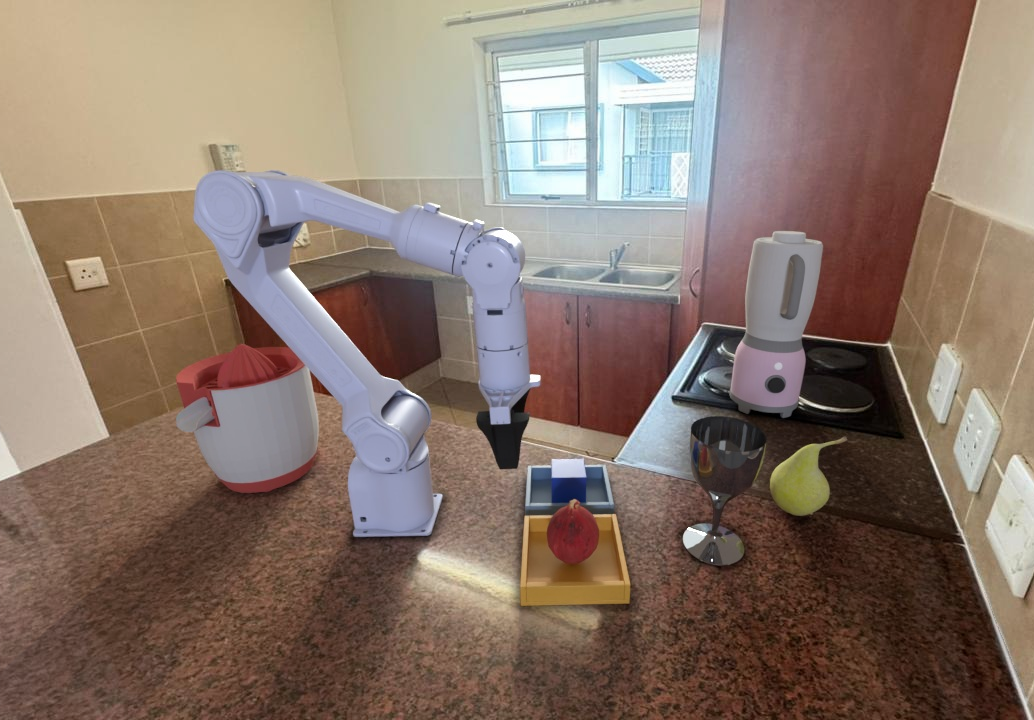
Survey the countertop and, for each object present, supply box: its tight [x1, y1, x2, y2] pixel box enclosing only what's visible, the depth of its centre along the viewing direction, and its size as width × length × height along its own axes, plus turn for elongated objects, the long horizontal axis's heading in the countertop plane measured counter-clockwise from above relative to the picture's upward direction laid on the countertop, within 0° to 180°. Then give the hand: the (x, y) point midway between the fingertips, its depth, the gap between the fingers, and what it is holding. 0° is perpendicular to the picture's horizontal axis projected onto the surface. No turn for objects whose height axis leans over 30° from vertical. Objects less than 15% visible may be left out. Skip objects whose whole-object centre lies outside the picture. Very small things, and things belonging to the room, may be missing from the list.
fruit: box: [769, 436, 848, 517], centre depth 64 cm, size 7×8×12 cm
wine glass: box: [682, 415, 768, 566], centre depth 57 cm, size 8×8×15 cm
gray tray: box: [524, 464, 615, 516], centre depth 67 cm, size 11×9×2 cm
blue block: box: [550, 458, 587, 503], centre depth 67 cm, size 4×4×4 cm
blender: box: [729, 230, 824, 419], centre depth 88 cm, size 16×12×32 cm
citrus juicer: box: [175, 343, 320, 494], centre depth 70 cm, size 16×17×20 cm
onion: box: [547, 499, 599, 564], centre depth 55 cm, size 6×6×8 cm
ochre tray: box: [519, 513, 631, 607], centre depth 56 cm, size 11×11×2 cm
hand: (511, 449), depth 60 cm, fingers open, 7 cm apart
